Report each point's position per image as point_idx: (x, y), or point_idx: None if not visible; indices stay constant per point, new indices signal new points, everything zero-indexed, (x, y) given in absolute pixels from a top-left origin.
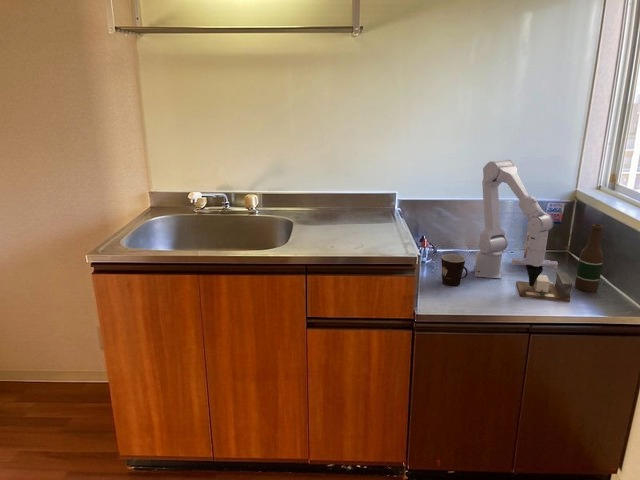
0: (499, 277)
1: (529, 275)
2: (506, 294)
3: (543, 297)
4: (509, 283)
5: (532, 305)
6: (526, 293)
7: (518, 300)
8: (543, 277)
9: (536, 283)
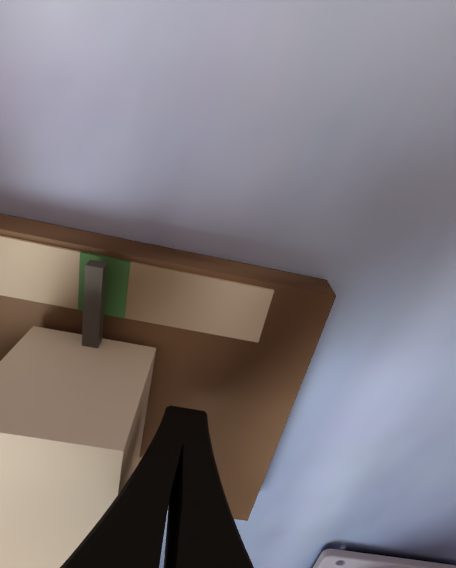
0: (336, 559)
1: (238, 548)
2: (425, 330)
3: (103, 242)
4: (292, 498)
5: (282, 63)
6: (269, 303)
7: (381, 201)
8: (15, 530)
9: (134, 425)
